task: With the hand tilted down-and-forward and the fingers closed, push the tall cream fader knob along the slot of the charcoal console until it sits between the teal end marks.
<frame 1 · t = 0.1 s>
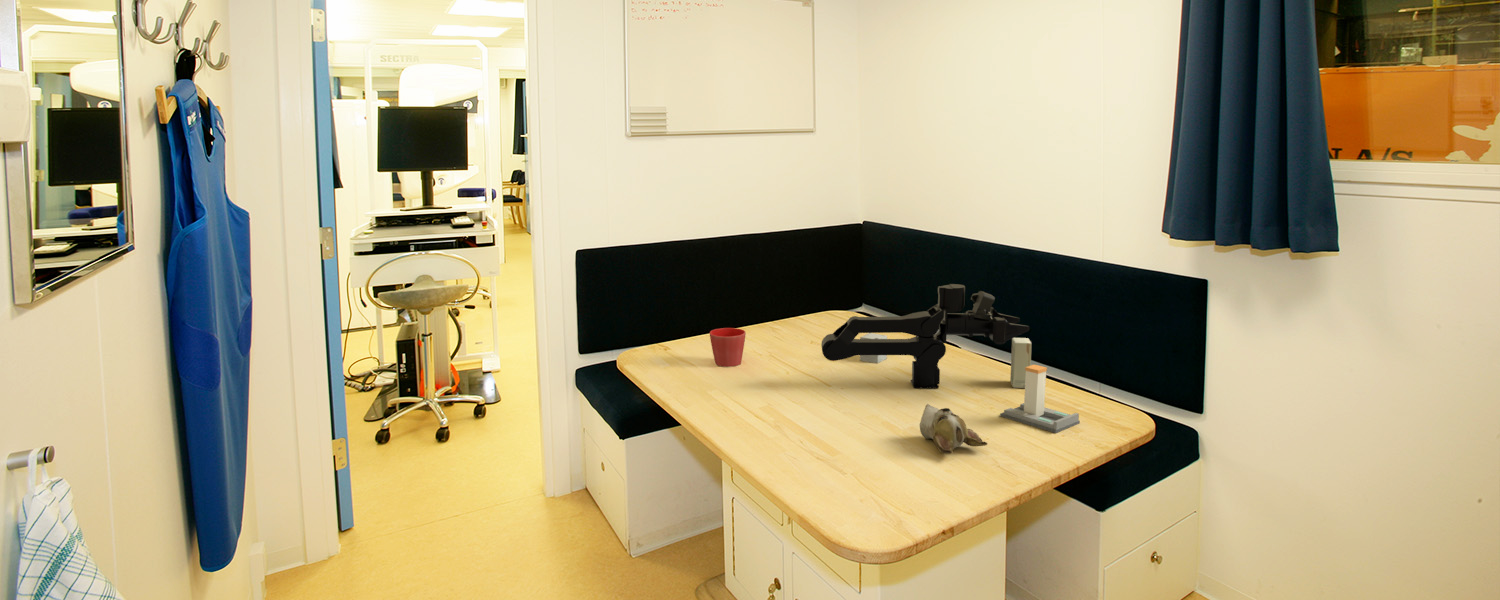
hand: (1024, 324, 209), 17 cm above the table, fingers open, 9 cm apart
flower pot: (728, 364, 238), on the table
console: (1039, 419, 187), on the table
skincare box: (873, 360, 239), on the table
fader knob: (1034, 391, 187), point 7 cm above the table, slide at 0.0 cm
skincare box 2: (1019, 385, 213), on the table
ceramic sculpture: (946, 446, 173), on the table
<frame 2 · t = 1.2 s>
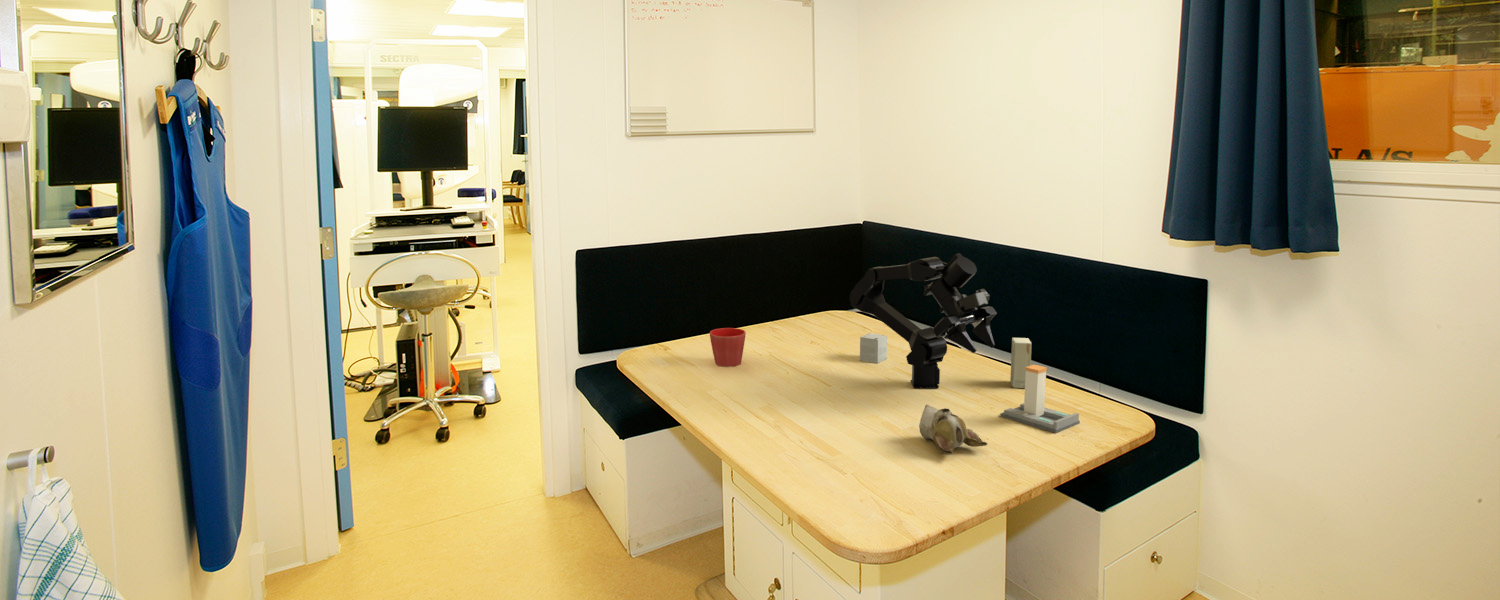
hand: (984, 349, 197), 14 cm above the table, fingers open, 7 cm apart
nothing on the table moved.
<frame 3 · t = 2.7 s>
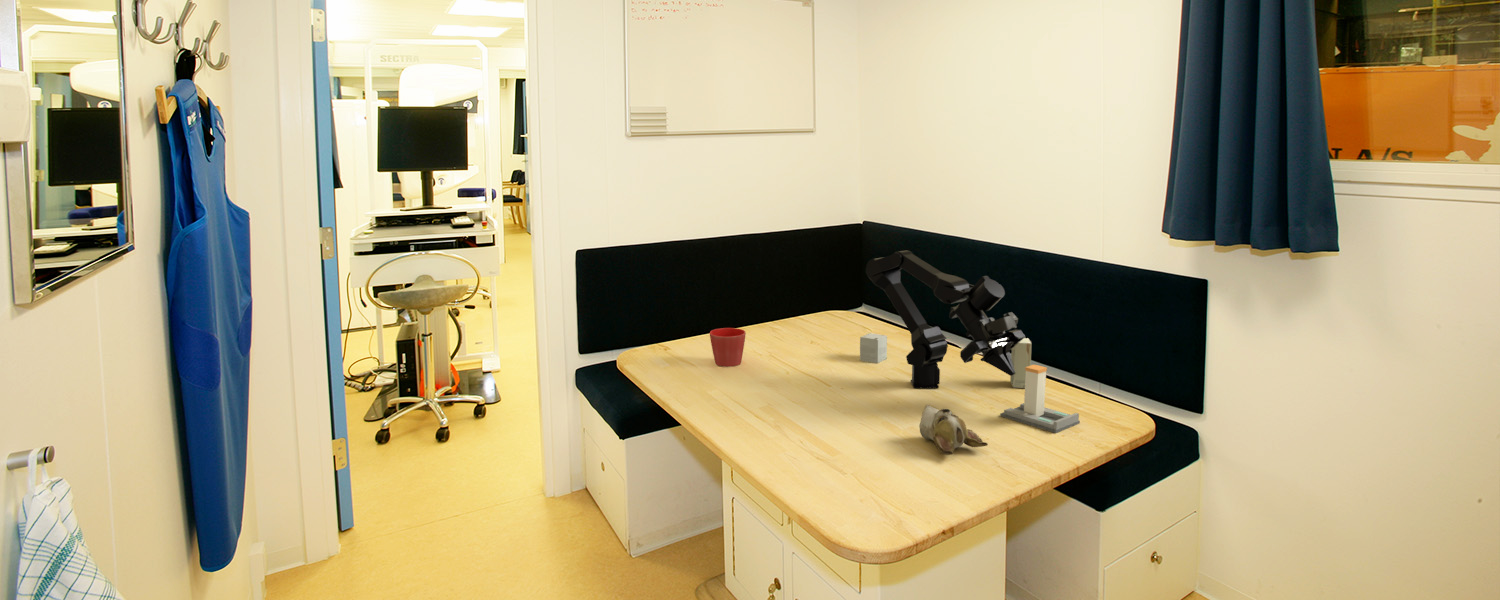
hand: (1013, 374, 191), 9 cm above the table, fingers closed
nothing on the table moved.
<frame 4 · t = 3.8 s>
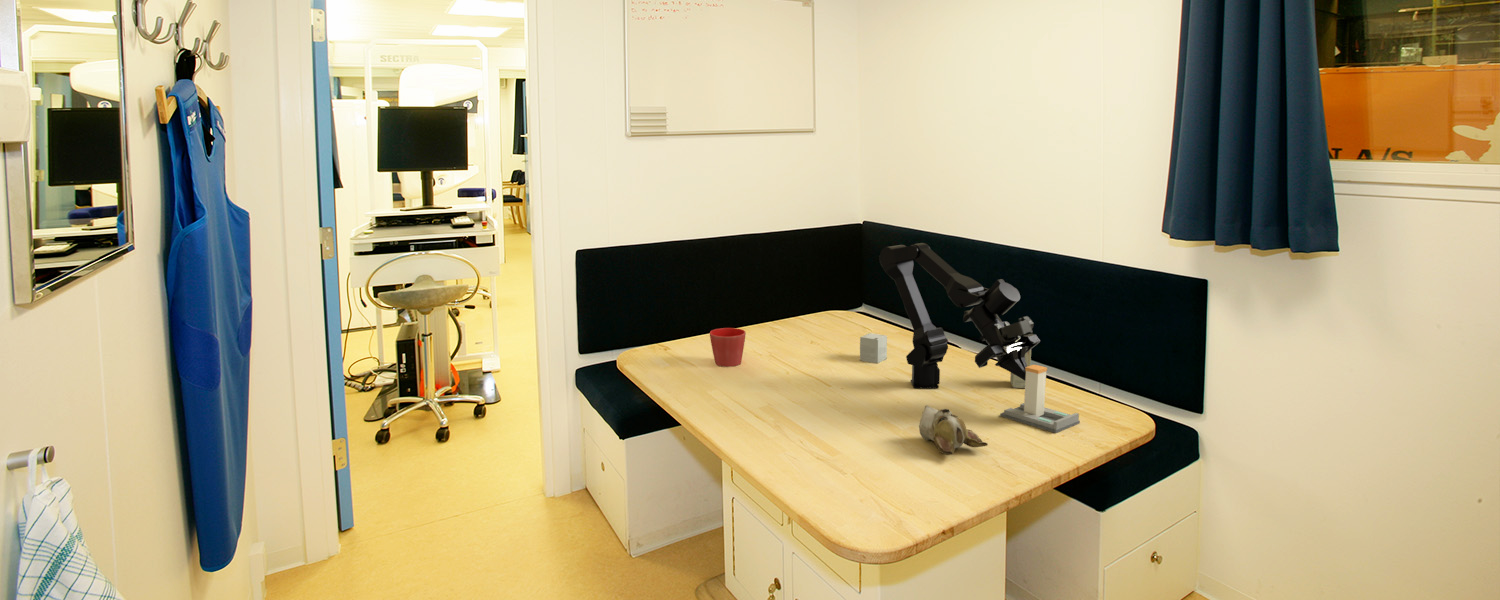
hand: (1028, 379, 188), 9 cm above the table, fingers closed, pressing on fader knob
fader knob: (1035, 391, 187), point 7 cm above the table, slide at 0.0 cm, touching gripper
everything else where it was.
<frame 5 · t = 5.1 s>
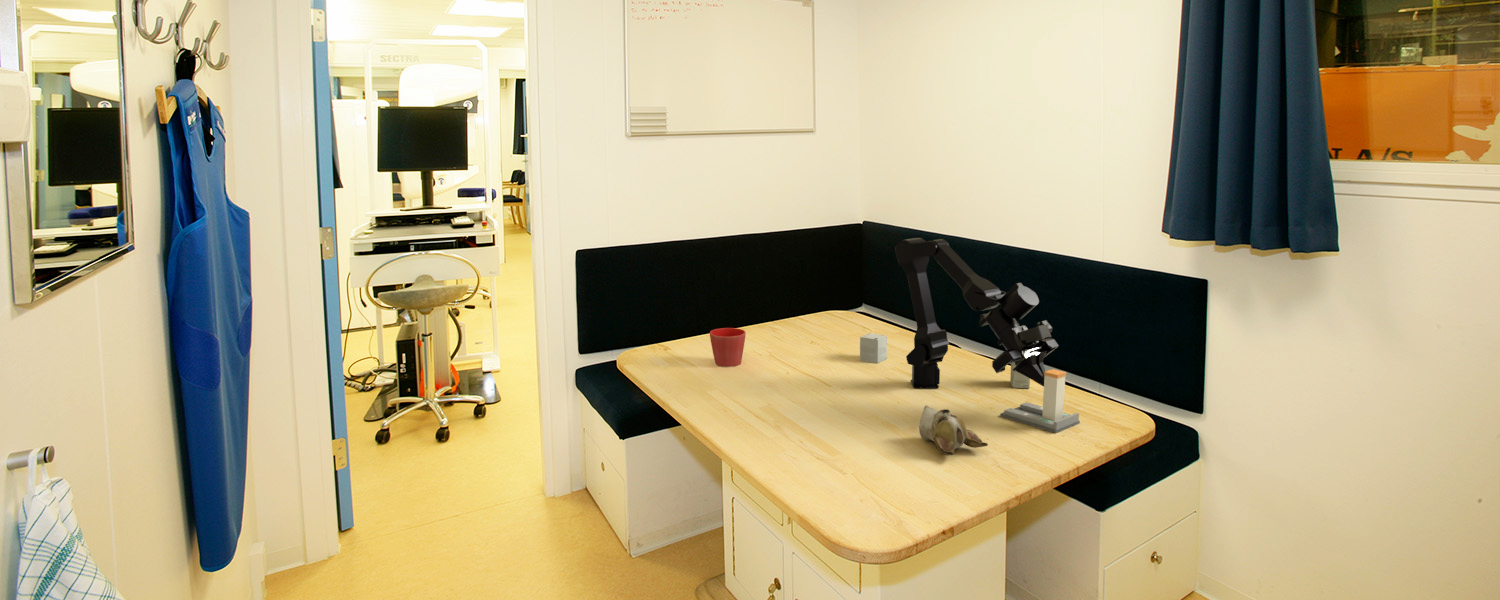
hand: (1046, 385, 184), 9 cm above the table, fingers closed, pressing on fader knob
fader knob: (1053, 396, 183), point 7 cm above the table, slide at 4.9 cm, touching gripper
everything else where it was.
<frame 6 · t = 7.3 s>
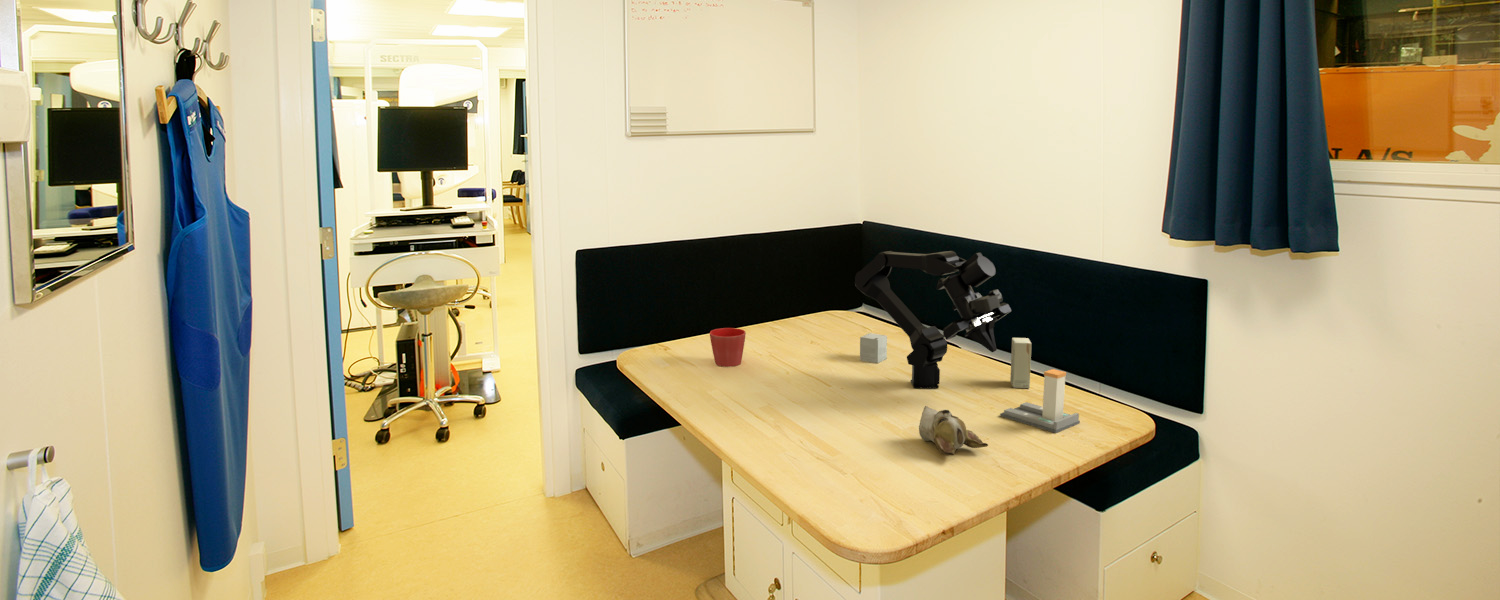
hand: (994, 351, 196), 13 cm above the table, fingers closed
fader knob: (1053, 396, 183), point 7 cm above the table, slide at 4.9 cm
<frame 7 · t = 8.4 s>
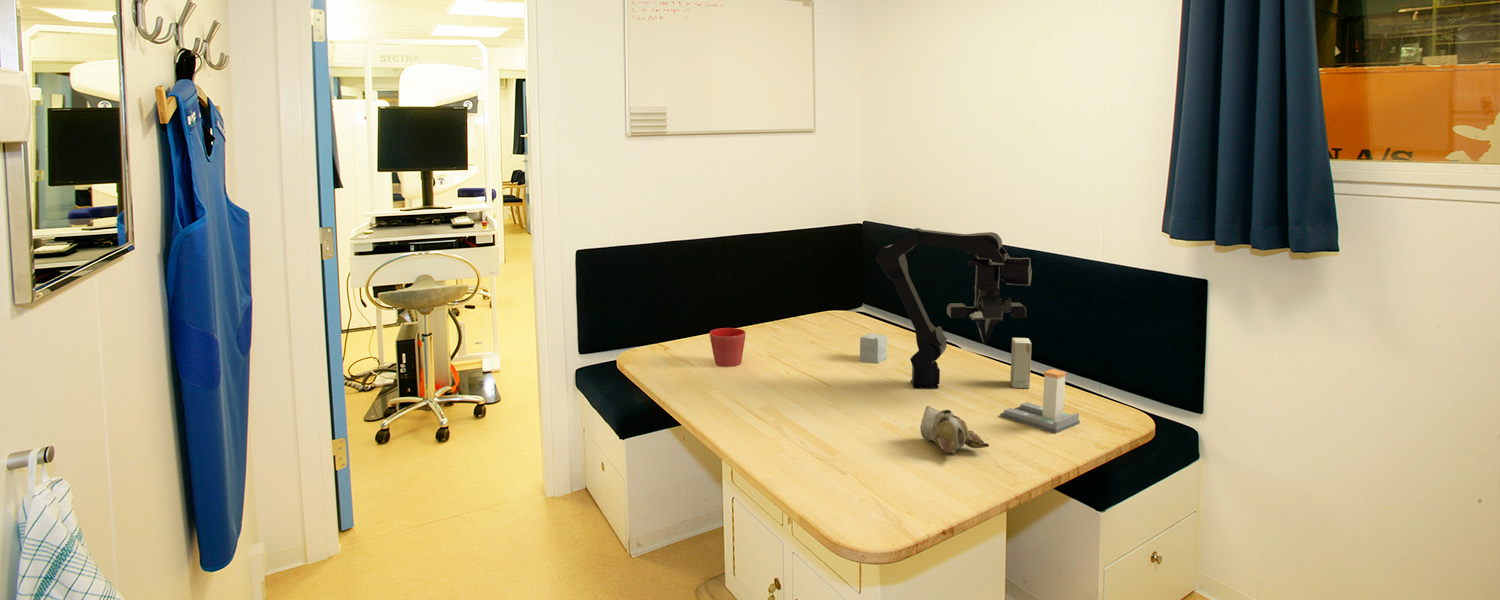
hand: (984, 343, 205), 13 cm above the table, fingers closed
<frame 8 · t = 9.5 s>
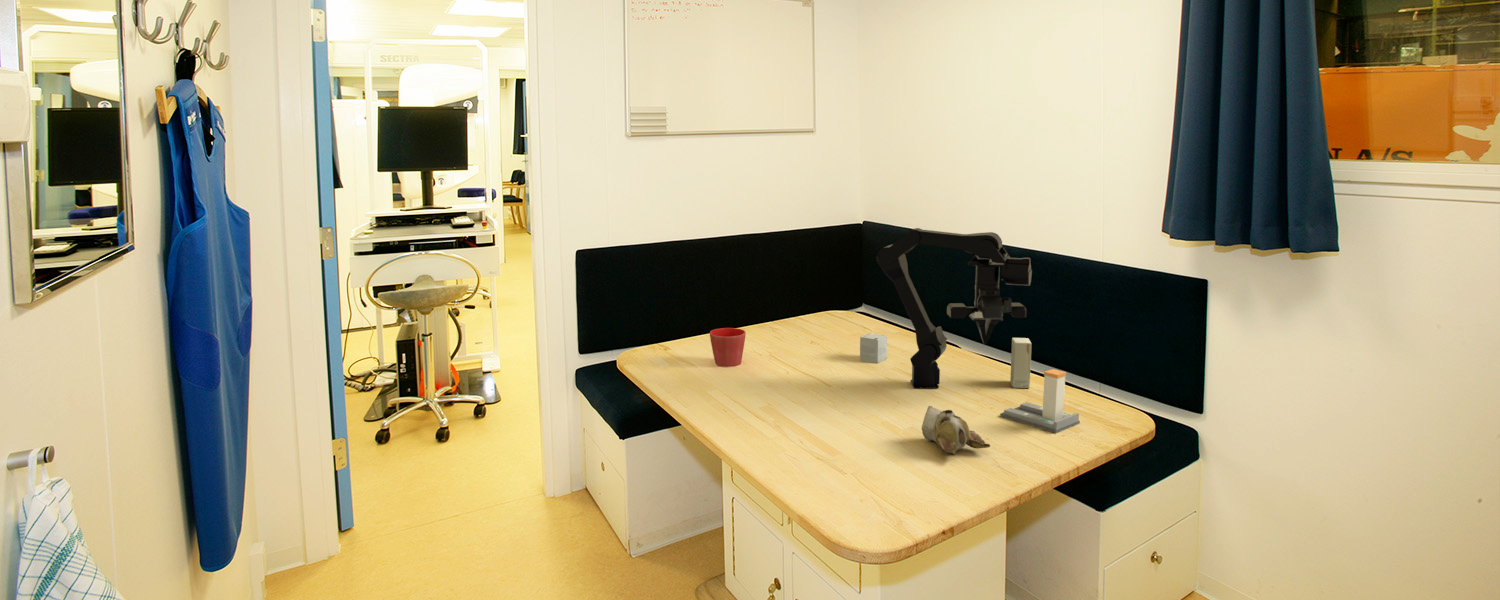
hand: (984, 343, 205), 13 cm above the table, fingers closed
at the end: fader knob slide at 4.9 cm; the gripper is holding nothing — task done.
